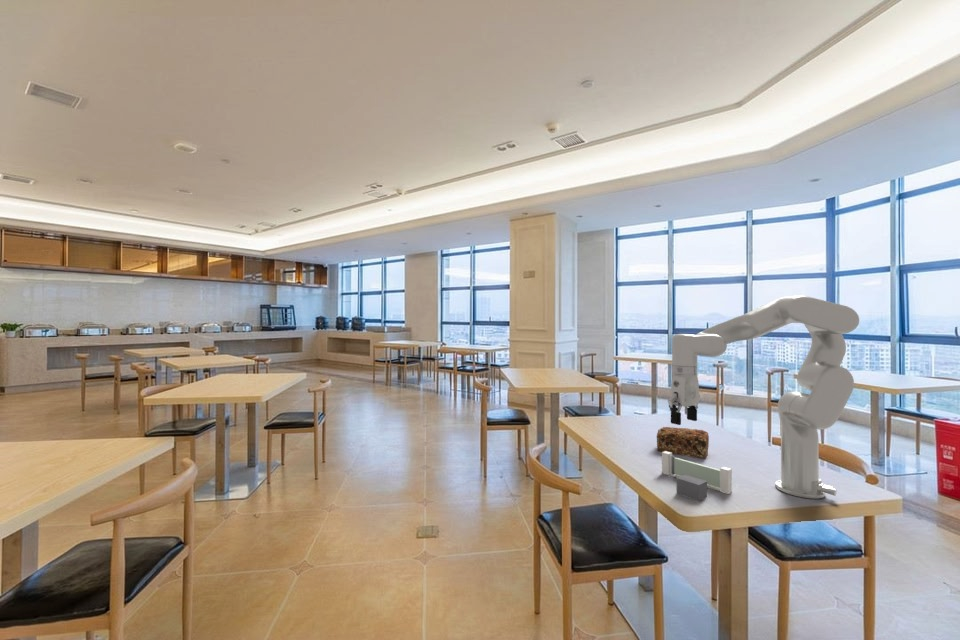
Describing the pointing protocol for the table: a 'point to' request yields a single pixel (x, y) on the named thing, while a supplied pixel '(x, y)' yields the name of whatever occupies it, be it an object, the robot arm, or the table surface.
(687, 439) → the bread
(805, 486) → the robot arm
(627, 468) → the table surface
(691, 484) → the block
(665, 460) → the door frame
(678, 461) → the door
